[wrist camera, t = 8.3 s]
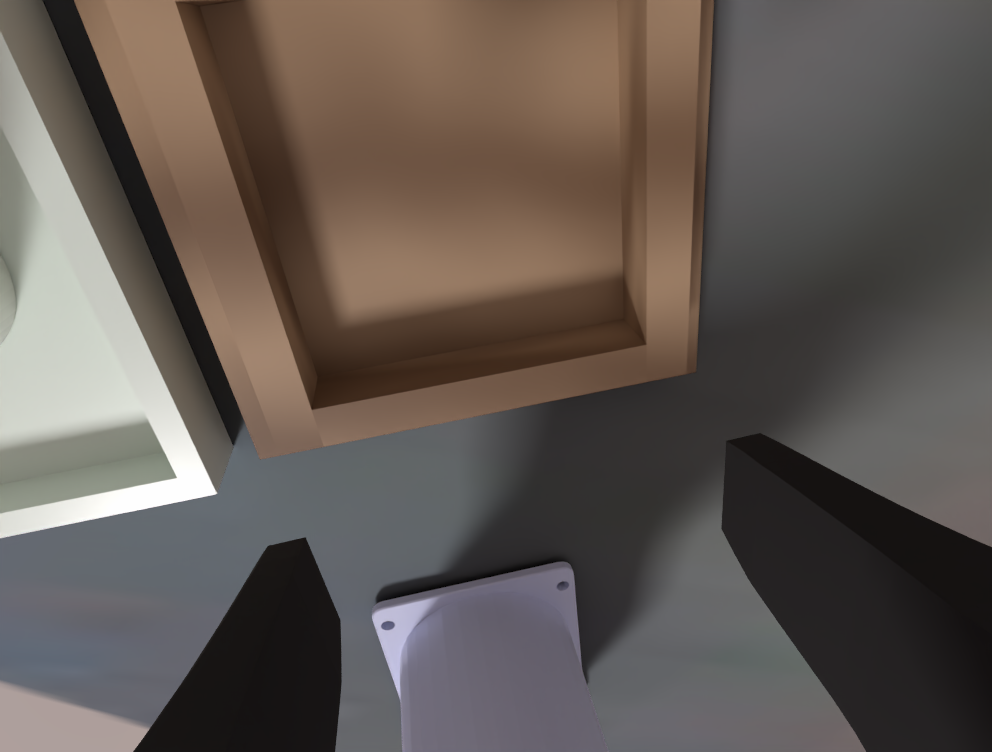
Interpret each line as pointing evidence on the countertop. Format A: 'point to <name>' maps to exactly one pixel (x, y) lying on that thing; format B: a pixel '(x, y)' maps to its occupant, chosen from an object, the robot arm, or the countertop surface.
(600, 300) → the tray
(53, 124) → the tray
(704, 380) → the countertop surface
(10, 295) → the white rounded piece
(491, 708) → the robot arm
